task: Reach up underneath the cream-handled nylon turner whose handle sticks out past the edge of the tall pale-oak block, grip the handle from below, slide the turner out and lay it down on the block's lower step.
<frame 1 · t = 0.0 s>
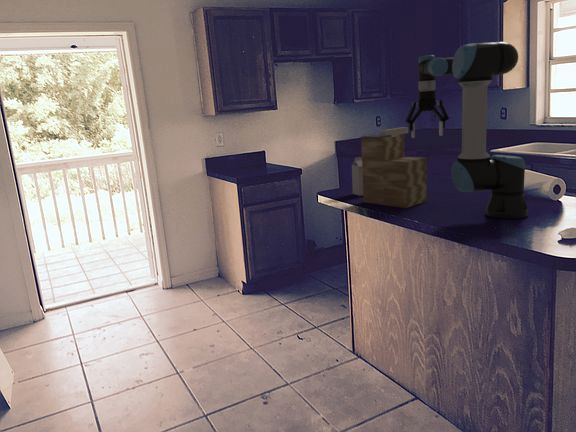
hand: (427, 136, 235), 28 cm above the countertop, tool pointing down, fingers open, 13 cm apart
turner: (387, 135, 231), point 30 cm above the countertop, touching oak step block
milk carton: (362, 194, 254), on the countertop
oak step block: (384, 200, 236), on the countertop
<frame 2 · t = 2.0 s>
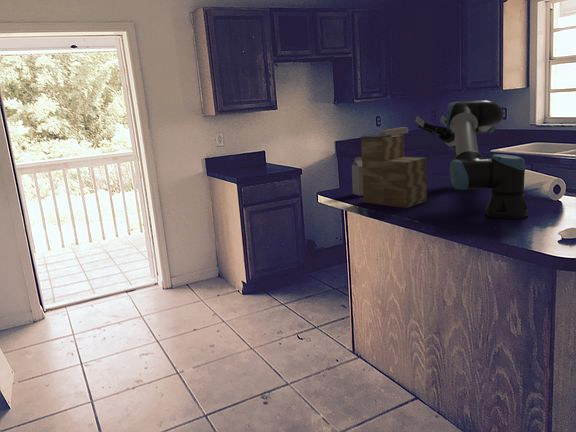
hand: (428, 118, 238), 36 cm above the countertop, tool pointing upward, fingers open, 13 cm apart
nothing on the countertop moved.
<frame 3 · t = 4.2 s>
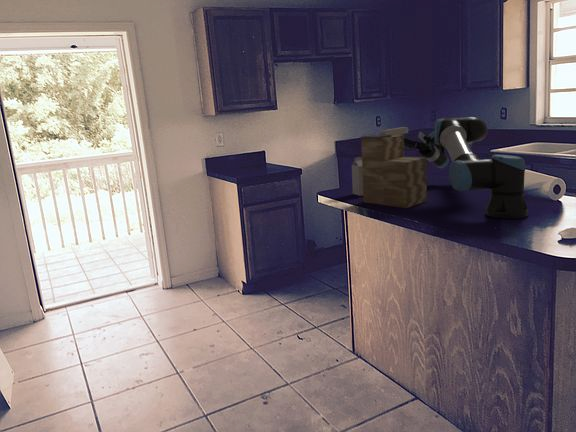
hand: (407, 134, 243), 29 cm above the countertop, tool pointing upward, fingers open, 13 cm apart
nothing on the countertop moved.
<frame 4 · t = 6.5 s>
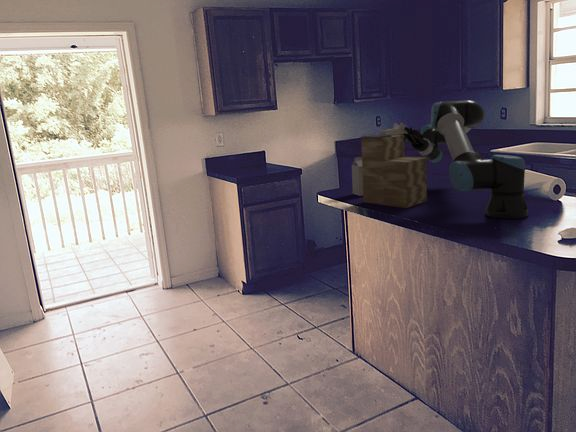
hand: (397, 125, 235), 34 cm above the countertop, tool pointing upward, fingers closed on turner, 3 cm apart
turner: (388, 135, 231), point 30 cm above the countertop, touching gripper, oak step block
everything else where it was.
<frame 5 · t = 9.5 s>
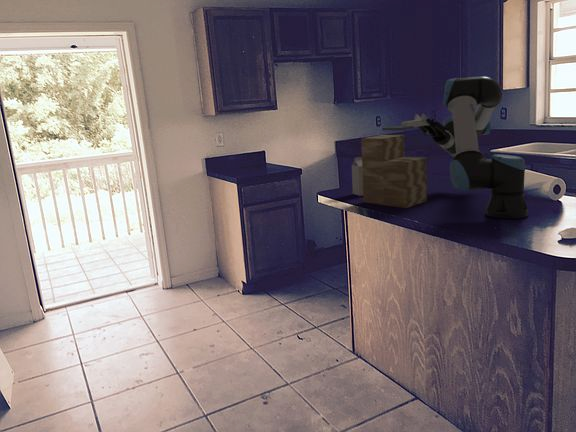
hand: (418, 116, 225), 38 cm above the countertop, tool pointing upward, fingers closed on turner, 3 cm apart
turner: (409, 127, 222), point 34 cm above the countertop, touching gripper
everything else where it was.
when the fingers open (26 cm above the countertop, at t = 12.6 s): turner drops 1 cm, resting on oak step block.
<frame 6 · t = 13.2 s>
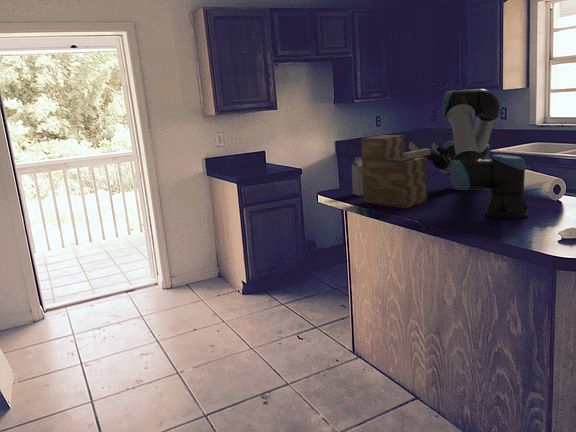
hand: (421, 145, 229), 25 cm above the countertop, tool pointing upward, fingers open, 11 cm apart
turner: (410, 158, 225), point 20 cm above the countertop, touching oak step block
everything else where it was.
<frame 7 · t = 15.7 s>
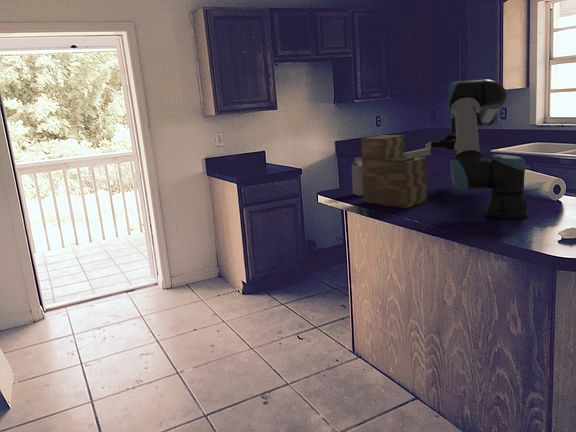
hand: (440, 146, 231), 23 cm above the countertop, tool horizontal, fingers open, 13 cm apart
nothing on the countertop moved.
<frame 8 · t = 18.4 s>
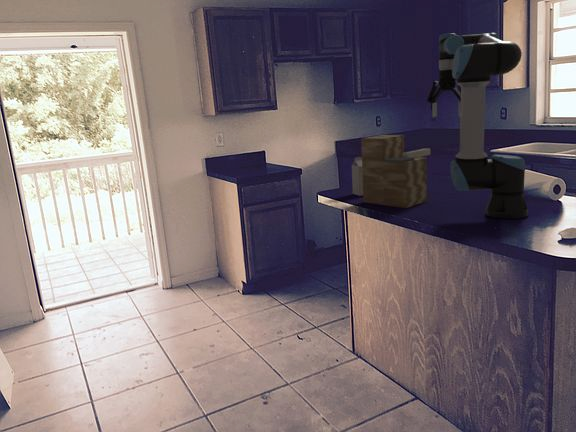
hand: (447, 116, 233), 37 cm above the countertop, tool pointing down, fingers open, 13 cm apart
nothing on the countertop moved.
at the end: turner inside the target area (0.2 cm from its centre), point 20.0 cm above the countertop; the gripper is holding nothing; turner tilted 0° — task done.
